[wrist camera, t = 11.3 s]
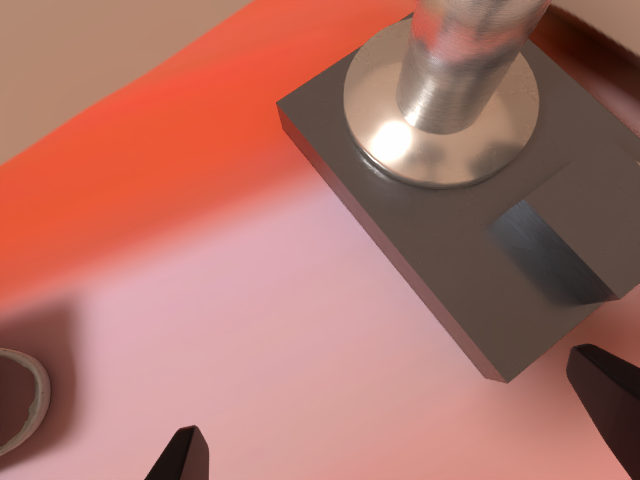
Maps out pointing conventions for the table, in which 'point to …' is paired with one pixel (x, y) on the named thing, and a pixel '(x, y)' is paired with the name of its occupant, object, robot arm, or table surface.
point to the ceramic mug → (40, 399)
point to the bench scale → (483, 196)
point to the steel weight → (460, 58)
